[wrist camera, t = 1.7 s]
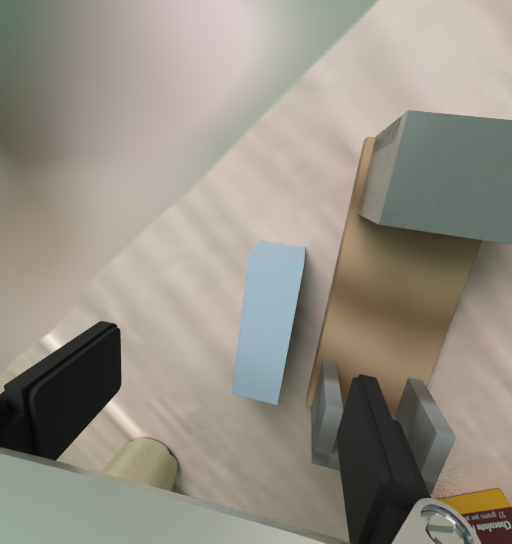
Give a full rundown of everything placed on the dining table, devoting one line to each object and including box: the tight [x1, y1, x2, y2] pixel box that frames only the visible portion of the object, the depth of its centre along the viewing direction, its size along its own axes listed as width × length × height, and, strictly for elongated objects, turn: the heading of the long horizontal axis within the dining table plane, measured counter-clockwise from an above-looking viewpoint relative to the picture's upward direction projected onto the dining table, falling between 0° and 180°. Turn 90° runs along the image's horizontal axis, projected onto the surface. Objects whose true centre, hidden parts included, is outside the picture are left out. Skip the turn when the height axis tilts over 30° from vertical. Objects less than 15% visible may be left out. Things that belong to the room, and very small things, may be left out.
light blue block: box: [232, 240, 305, 405], centre depth 20 cm, size 10×3×5 cm, turn 172°
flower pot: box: [100, 438, 178, 491], centre depth 26 cm, size 9×9×9 cm
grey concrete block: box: [358, 110, 512, 244], centre depth 14 cm, size 4×7×6 cm, turn 82°
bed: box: [307, 137, 482, 495], centre depth 18 cm, size 20×8×6 cm, turn 172°
